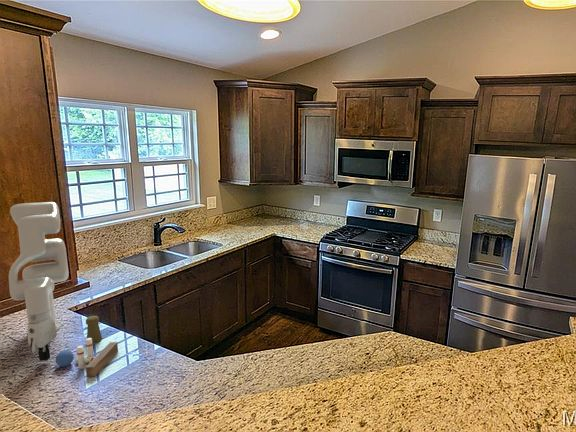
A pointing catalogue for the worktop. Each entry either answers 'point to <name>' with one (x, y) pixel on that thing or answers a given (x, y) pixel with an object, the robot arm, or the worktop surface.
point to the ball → (64, 358)
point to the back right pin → (81, 357)
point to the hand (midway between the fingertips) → (44, 359)
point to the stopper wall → (101, 359)
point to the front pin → (87, 359)
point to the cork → (93, 329)
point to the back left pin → (89, 347)
